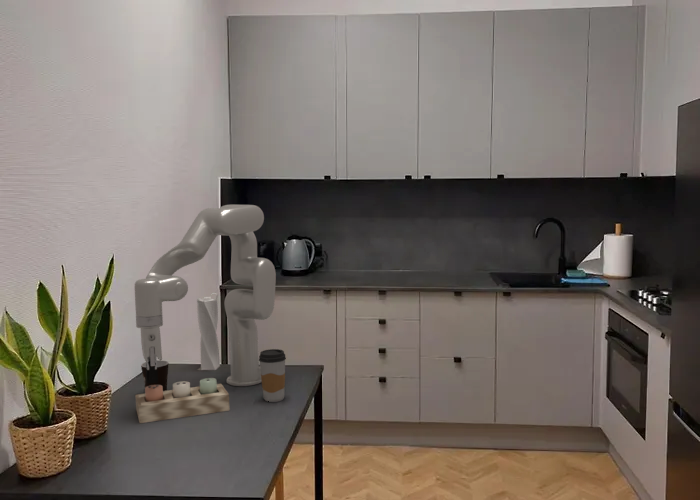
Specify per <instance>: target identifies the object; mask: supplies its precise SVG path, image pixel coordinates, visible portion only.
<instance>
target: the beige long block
mask: <svg viewBox="0 0 700 500" xmlns="http://www.w3.org/2000/svg"><path fill="white" fill-rule="evenodd" d="M134 396H135V410H136V414H137V417H138V418H137V419H138V422H139V424H144V423H153V422H156V421H157V422H158V421H166V420H172V419H179V418H187V417H193V416H200V415H201V416H202V415H206V414H207V415H208V414H215V413H221V412H229V411H230V394H229V392H228V391H227V390H226V388H225V387H224V385H223V384H222V383H217V393H211V394H203V395H201V394H200V385H198V386H193V387H191V386H190V396H188V397H180V398H173V389H170V390H168V389H167V391H163V400H158V401H150V402H146V395H145V393H138V394H135V395H134Z"/></svg>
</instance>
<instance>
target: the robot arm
mask: <svg viewBox="0 0 700 500" xmlns="http://www.w3.org/2000/svg"><path fill="white" fill-rule="evenodd" d="M264 220H265V215H264V212H263V210H262V209H261V208H260V206H258V205H254V204H225V205H222V206H220V207H219V208H214V207H211V208H209V207H208V208H204V209H202V210H200V211H199V213H198V214H197V216H196V217H195V219H194V220H193V222H192V223H191V225H190V226H189V228H188V229H187V231H186V233H185V234H184V236H183V237H182V239H181V241H180V242H179V243H178V244H177V245H175V246H174V247H172V248H171V249H170V250H168V251H167V252H166V253H164V254H163V255H162V256H161V257H159V258H158V259H157V260H156V261H155V262H154V264H153V265H152V267H151V269H150V270H149V271H148V273H147V275H146V277H145V278H141V279H138V280H136V281H135V283H134V306H135V323H136V324H135V325H136V326H135V327H136V328H138V329H140V342H141V343H140V344H141V351H142V356H143V360H144V361H145V362H146V382H147V383H157V382H158V371H157V360H163V355H162V354H163V353H162V352H163V351H162V338H161V329H160V328H161V327H162V326H163V325H164V323H163V322H164V321H163V320H164V319H163V318H164V317H163V302H177V301H178V302H179V301H180V300H182V299H183V298H185V297H186V295H187V294H188V291H189V285H188V283H187V281H186V280H185V279H184V278H183V277H181V276H177V275H174V274H175V273H176V272H177V271H179V270H181V269H182V268H184V267H187V266H190V265H192V264H194V263H197V262H199V261H200V260H202V259H204V257H206V254H207V253H208V251H209V249H210V247H211V246H212V245H213V243H214V241H215V240H216V238H217V237H218V236H229V238H230V244H231V257H230V258H231V260H230V279H231V280H232V282H234V283H235V284H237V285H242V286H249V287H250V286H252V288H253V289H248V288H235V289H232V290H230V291H229V292H228V293H227V294H226V296H225V298H224V311H225V314H226V317H227V318H226V319H227V324H228V336H229V337H228V339H229V342H228V343H229V358H230V359H229V360H230V375H229V376H228V377H227V378H226V384H228V385H230V386H234V387H235V386H236V387H247V386H255V385H258V384H262V380H261V368H260V361H259V356H260V355H259V337H258V336H259V335H258V334H259V333H258V326H257V324H256V321H255V320H259V321H264V320H267V319H269V318H270V317H271V315H272V314H273V311H274V308H275V299H276V281H277V280H276V277H277V275H276V273H277V272H276V269H275V268H276V267H275V265H274V264H273V262H272V261H271V260H270V259H268V258H265V257H258V241H257V237H256V235H255V233H254V232H256V231H258V230H260V228H261V227H262V226H263V224H264V222H265V221H264Z"/></svg>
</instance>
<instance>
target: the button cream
mask: <svg viewBox="0 0 700 500" xmlns="http://www.w3.org/2000/svg"><path fill="white" fill-rule="evenodd" d="M190 388H191V382H189V381H185V380H184V381H182V380H181V381H177V382H174V383H172V390H173V398H180V397H188V396H190Z"/></svg>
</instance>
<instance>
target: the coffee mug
mask: <svg viewBox="0 0 700 500" xmlns="http://www.w3.org/2000/svg"><path fill="white" fill-rule="evenodd" d="M140 366H141V373H142V378H143V383H144V388H145V387H147V386H150V385H162V386H163V391H168V381H169V380H168V377H169V361H168V360H163V359H162V360H159V359H157V371H158V382H157V383H147V382H146V361H145V362H143V363H141V364H140Z"/></svg>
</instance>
